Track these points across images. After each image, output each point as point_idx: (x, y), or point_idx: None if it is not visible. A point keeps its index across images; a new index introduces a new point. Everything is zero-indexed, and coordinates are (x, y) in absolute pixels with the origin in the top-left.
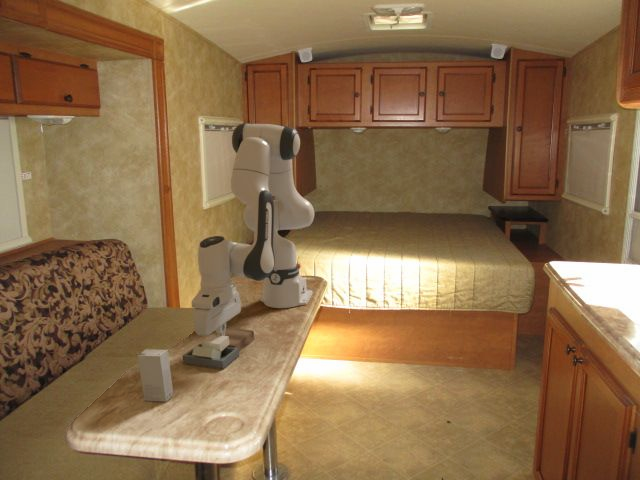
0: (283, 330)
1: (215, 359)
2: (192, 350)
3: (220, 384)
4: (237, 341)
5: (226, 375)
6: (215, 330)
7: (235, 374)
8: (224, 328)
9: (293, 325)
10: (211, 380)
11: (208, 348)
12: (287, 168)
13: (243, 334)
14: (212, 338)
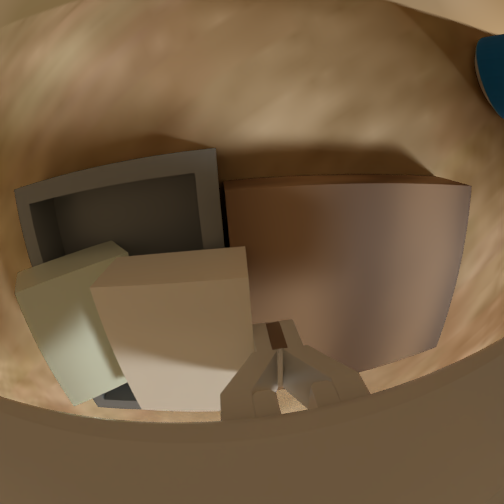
0: (469, 345)
1: None
2: (85, 189)
3: (49, 403)
4: None
5: (89, 400)
6: (233, 380)
7: (112, 417)
8: (305, 406)
9: (490, 341)
10: (40, 375)
11: (60, 384)
12: None
13: (398, 341)
14: (179, 339)
